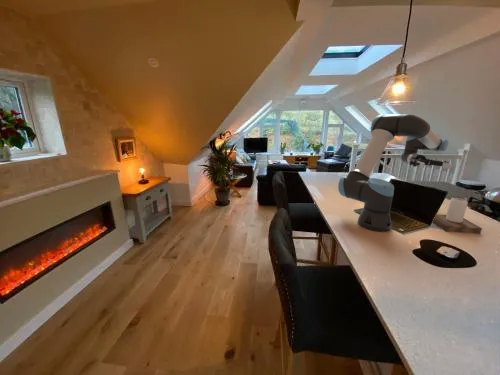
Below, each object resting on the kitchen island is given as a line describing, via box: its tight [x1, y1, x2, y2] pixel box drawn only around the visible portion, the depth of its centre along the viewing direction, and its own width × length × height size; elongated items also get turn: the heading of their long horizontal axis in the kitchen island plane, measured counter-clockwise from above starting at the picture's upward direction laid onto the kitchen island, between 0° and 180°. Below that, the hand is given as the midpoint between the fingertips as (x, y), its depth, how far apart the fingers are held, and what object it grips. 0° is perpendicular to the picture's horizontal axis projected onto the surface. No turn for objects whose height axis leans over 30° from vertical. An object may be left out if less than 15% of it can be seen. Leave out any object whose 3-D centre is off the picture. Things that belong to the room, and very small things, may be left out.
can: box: [445, 196, 469, 223], centre depth 114 cm, size 6×6×12 cm
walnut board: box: [432, 213, 483, 235], centre depth 116 cm, size 15×15×3 cm
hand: (437, 166), depth 126 cm, fingers open, 13 cm apart
